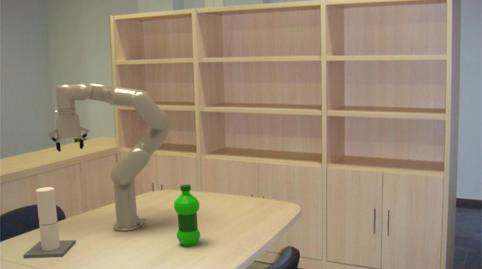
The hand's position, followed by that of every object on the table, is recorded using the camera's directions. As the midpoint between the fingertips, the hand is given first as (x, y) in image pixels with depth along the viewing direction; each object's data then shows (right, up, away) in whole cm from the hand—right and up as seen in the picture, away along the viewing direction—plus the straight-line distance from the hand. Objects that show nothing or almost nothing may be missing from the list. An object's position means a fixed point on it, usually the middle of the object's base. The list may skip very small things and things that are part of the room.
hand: (70, 150), depth 240 cm
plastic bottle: (+55, -39, -17) cm, 70 cm away
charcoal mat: (-3, -41, -17) cm, 45 cm away
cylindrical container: (-3, -40, -17) cm, 44 cm away
